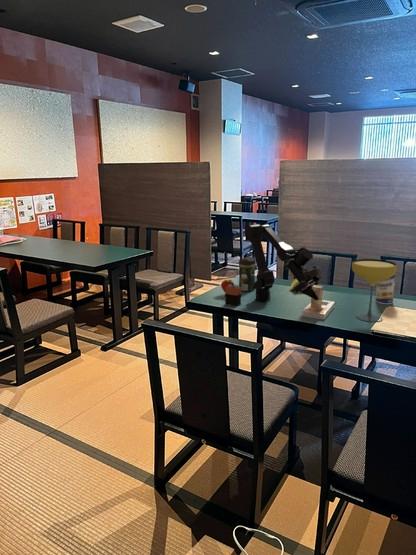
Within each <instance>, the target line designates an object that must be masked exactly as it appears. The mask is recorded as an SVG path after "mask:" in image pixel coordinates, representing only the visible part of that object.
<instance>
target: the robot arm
mask: <svg viewBox="0 0 416 555" xmlns="http://www.w3.org/2000/svg"><path fill="white" fill-rule="evenodd" d="M244 234H245V236H246V240H248V241H249V242H250V243H251V248H252V251H253V255H254V259H255V265H256V267H257V273H256V280H255V283H254V284H253V287H254V290H255V299H254V301H256V302H264V303H267V302H268V301H270V300H271V291H270V289H272V288H273V285H274V284H275V278H276V277H275V275H274V271H273V270H272V269H271V270H270V269H269V267H268V263H267V259H266V255H265V250H264V247H263V244H262V239H263V236H264V237H265V238H266V240H268V242H269V243H270V245H272V247H273V248H274V249H275V253H276V255H277V257H278V259H279V261H281V262H284V264H283V270H286V269H287V270H289V272H290V273H291V274H292V276H293V280H294V279H297V281H298V282H299V284H298V285H297V286H295V287H294V289H293V292H294V293H295V294H299V293H300V294H303V295H304V296H308V297H310V299H311V298H313V299H315V300H318V297H317V295H316V294H315V292H314V291H313V289H312V286H314V285H319V284H320V280H321V279H323V278H322V276H321V274H322V268H321V267H320V266H318V265H314V266H312V268H311V269H308V268H304V266H306V265H307V264H309V262H310V261H311V260H312V259H313V257H314V256H313V255H314V254H313V252H312V251H310V250H309V249H307V248H306V247H305V246H301V247H300V248H299V250H298V251H297V250H295V248H293V247H292V246H291V245H289V244H288V243H285V242H284V241H283V240H282V239H281V238H280V237H279V235H278V234H277V233H276V232H275V231H274V230H273V229H272V227H271V225H269V224H261V225H260V224H258V223H257V224H247V225H246V227H245V229H244Z"/></svg>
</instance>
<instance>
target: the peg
mask: <svg viewBox="0 0 416 555" xmlns="http://www.w3.org/2000/svg"><path fill="white" fill-rule="evenodd" d="M312 289H313V291H314V292H315V294H316V295H317V297H318V300H315V299H313V298H311V297H310V303H311V309H310V310H312V311H319V312H321V310H322V300H323V293H324V286H323V285H319V284H318V285H314V286H312Z"/></svg>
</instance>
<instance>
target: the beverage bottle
mask: <svg viewBox="0 0 416 555" xmlns="http://www.w3.org/2000/svg"><path fill="white" fill-rule="evenodd" d="M395 285H396V274H395V275H393V276H392V277H390V278H387V279H384V280H381V281H379V282H378V283H377V284H376V292H375V299H374V300H375V303H378V304H380V305H391V304H393V303H394V293H395Z"/></svg>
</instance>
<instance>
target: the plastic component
mask: <svg viewBox="0 0 416 555" xmlns="http://www.w3.org/2000/svg"><path fill="white" fill-rule="evenodd" d="M298 284H299V282H298V281H297V279H294V278H293V281H292V283H291V284H290V288H289V291H294V287H295V286H297V285H298Z"/></svg>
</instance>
